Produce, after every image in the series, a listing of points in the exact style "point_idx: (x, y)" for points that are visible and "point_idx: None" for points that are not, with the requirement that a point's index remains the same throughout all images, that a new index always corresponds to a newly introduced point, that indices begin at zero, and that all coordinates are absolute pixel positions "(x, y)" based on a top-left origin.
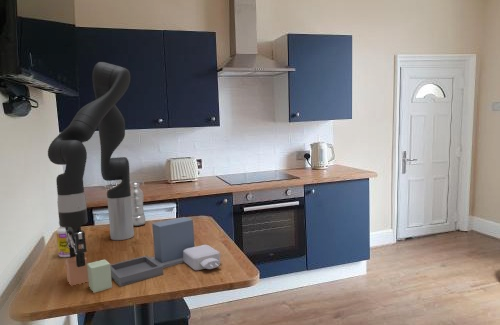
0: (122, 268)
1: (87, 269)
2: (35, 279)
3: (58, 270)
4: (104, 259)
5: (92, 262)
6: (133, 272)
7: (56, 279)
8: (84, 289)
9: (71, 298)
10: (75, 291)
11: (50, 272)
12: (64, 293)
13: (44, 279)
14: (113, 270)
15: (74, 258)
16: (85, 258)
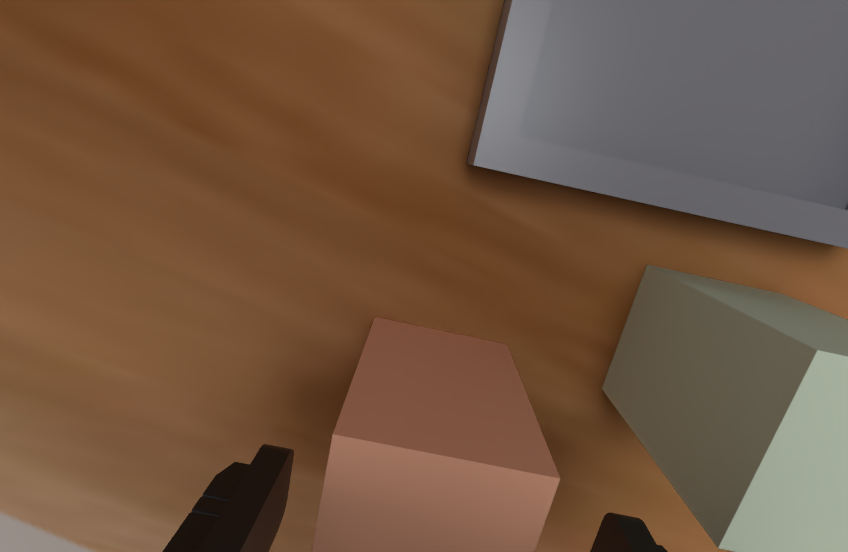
0: (553, 21)
1: (677, 491)
2: (127, 536)
3: (49, 382)
4: (818, 359)
5: (755, 499)
6: (767, 11)
7: (245, 460)
8: (609, 424)
9: (662, 524)
10: (582, 470)
11: (52, 433)
12: (546, 519)
13: (176, 505)
14: (680, 195)
15: (384, 549)
16: (517, 481)
